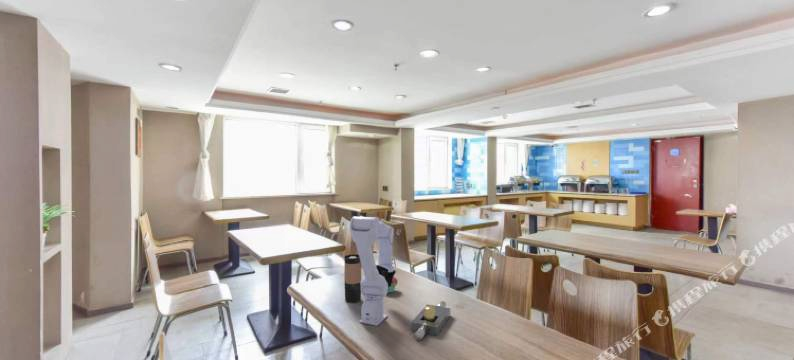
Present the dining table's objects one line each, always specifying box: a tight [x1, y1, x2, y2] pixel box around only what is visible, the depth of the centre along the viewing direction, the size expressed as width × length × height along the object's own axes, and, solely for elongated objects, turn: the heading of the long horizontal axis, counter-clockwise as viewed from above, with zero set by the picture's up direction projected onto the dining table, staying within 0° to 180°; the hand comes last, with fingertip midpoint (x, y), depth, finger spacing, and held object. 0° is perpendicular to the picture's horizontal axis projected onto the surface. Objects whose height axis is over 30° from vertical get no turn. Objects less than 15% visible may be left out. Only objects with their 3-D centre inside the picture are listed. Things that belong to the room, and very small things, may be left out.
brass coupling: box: [423, 305, 435, 323], centre depth 128 cm, size 4×4×7 cm
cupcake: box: [387, 276, 398, 294], centre depth 165 cm, size 9×8×12 cm
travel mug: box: [343, 253, 362, 304], centre depth 153 cm, size 8×8×20 cm
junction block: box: [410, 300, 451, 342], centre depth 131 cm, size 30×10×3 cm, turn 156°
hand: (385, 283), depth 148 cm, fingers open, 7 cm apart
